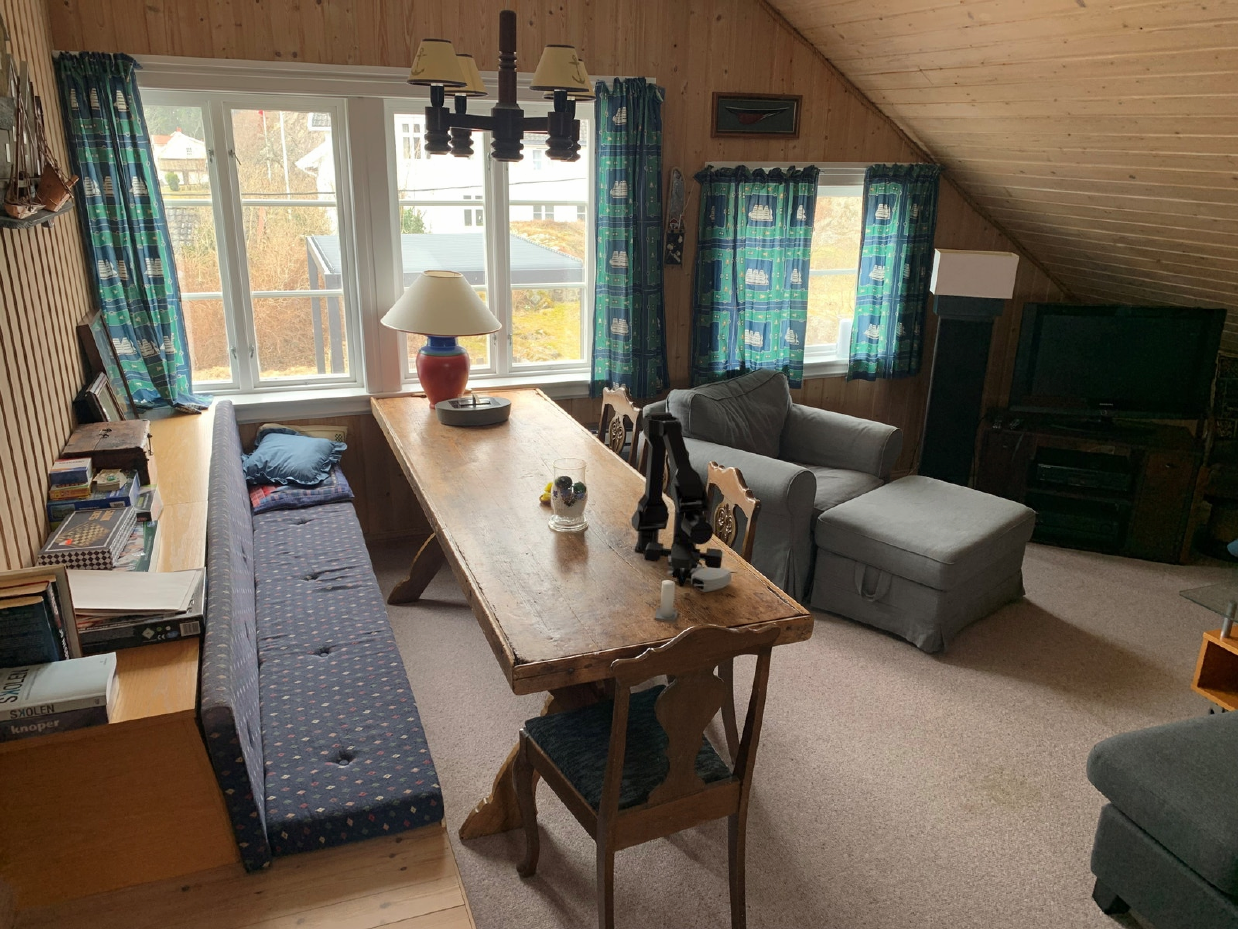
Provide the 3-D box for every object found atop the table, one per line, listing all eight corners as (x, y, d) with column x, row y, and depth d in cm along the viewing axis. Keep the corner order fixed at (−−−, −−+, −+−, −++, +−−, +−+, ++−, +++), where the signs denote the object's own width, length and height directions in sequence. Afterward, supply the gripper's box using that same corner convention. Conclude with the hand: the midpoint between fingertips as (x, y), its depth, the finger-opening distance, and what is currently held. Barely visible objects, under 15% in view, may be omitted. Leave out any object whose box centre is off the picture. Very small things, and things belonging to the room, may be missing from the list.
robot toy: (663, 583, 228) (707, 600, 217) (663, 567, 226) (707, 583, 216) (695, 570, 236) (739, 586, 225) (695, 554, 235) (740, 570, 224)
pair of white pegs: (671, 562, 238) (673, 532, 235) (689, 564, 237) (692, 534, 234) (654, 619, 207) (656, 586, 204) (675, 622, 206) (677, 588, 203)
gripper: (642, 536, 210) (639, 596, 215) (721, 545, 207) (716, 605, 212) (649, 519, 221) (646, 577, 225) (724, 527, 218) (719, 585, 223)
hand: (681, 586), depth 221 cm, fingers closed
